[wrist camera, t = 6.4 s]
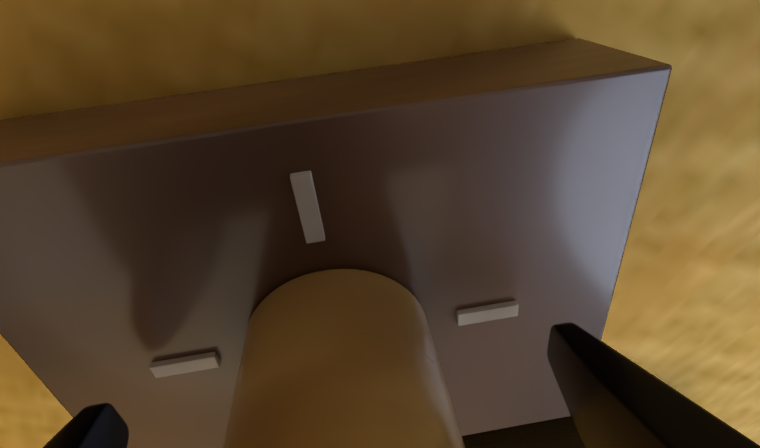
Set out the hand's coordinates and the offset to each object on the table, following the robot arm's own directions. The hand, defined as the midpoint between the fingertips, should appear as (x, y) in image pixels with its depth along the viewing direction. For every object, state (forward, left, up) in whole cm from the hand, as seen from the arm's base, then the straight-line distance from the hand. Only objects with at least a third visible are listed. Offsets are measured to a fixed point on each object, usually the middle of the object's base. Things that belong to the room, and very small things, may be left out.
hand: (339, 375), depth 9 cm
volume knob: (0, 0, -1) cm, 1 cm away
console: (0, 0, -4) cm, 4 cm away
